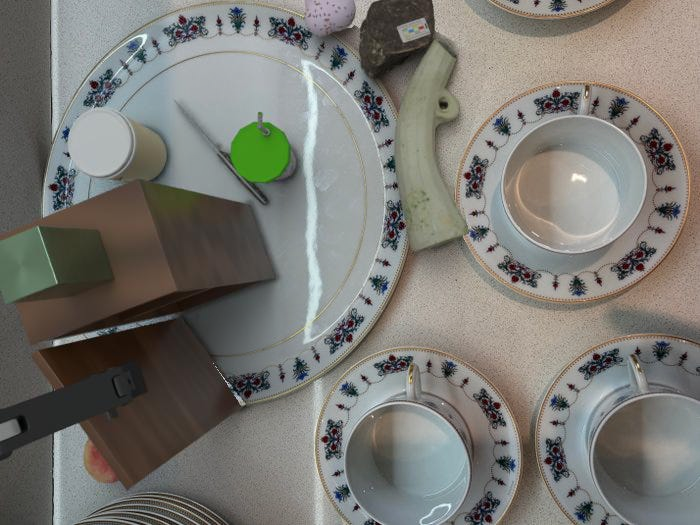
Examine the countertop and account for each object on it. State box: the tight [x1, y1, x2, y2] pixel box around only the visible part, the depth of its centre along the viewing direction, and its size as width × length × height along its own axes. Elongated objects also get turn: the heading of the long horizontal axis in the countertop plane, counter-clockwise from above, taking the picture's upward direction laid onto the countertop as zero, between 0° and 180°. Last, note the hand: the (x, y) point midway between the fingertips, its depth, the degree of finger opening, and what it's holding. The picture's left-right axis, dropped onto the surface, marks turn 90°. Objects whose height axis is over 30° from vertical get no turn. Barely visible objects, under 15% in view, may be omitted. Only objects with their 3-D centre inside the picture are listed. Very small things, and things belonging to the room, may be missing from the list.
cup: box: [229, 111, 298, 184], centre depth 87 cm, size 8×8×15 cm
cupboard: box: [0, 179, 277, 347], centre depth 79 cm, size 11×16×34 cm
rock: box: [358, 0, 436, 81], centre depth 88 cm, size 10×7×8 cm
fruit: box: [83, 438, 120, 484], centre depth 95 cm, size 8×8×8 cm
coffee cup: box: [67, 106, 168, 182], centre depth 92 cm, size 9×9×12 cm
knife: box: [172, 98, 268, 205], centre depth 94 cm, size 20×1×3 cm, turn 42°
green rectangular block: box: [0, 226, 114, 305], centre depth 58 cm, size 5×5×9 cm
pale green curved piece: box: [394, 38, 470, 254], centre depth 86 cm, size 28×8×10 cm
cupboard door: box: [30, 316, 245, 491], centre depth 80 cm, size 7×16×34 cm, turn 38°
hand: (65, 403), depth 54 cm, fingers open, 13 cm apart
